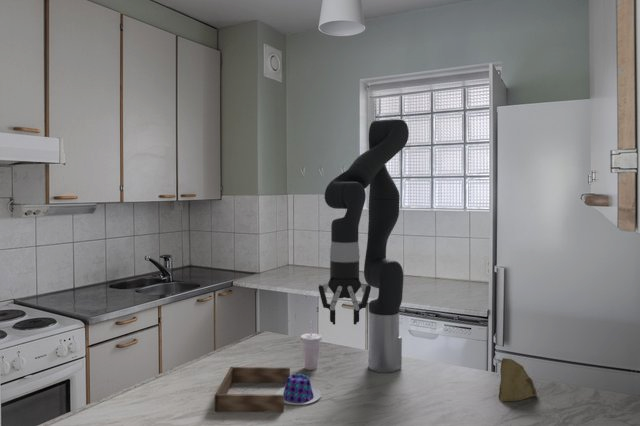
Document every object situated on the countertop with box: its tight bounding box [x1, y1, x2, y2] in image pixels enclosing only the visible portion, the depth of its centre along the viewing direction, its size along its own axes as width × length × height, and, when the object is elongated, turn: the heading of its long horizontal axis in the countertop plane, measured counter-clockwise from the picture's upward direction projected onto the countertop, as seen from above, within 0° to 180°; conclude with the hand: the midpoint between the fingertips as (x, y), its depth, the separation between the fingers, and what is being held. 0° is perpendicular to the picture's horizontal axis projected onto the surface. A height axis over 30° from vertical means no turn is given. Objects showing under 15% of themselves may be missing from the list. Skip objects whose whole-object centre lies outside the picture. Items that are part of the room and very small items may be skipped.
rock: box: [498, 357, 538, 403], centre depth 124 cm, size 11×9×10 cm
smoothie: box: [300, 321, 322, 371], centre depth 145 cm, size 6×6×14 cm
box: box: [214, 366, 291, 413], centre depth 125 cm, size 17×19×4 cm
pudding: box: [275, 373, 322, 405], centre depth 125 cm, size 12×12×5 cm
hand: (344, 323), depth 124 cm, fingers open, 5 cm apart
